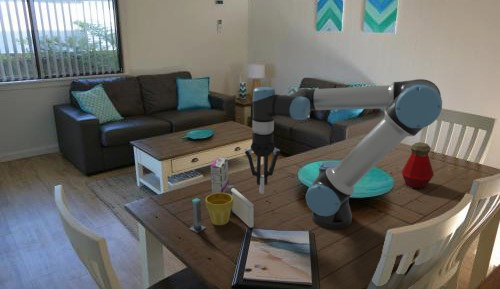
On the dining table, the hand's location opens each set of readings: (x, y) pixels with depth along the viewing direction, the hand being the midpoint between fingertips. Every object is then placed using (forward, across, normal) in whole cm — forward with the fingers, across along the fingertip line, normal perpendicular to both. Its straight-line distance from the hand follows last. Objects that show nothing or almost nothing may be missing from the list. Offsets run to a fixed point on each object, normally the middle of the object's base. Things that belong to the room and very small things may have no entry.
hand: (261, 192), depth 143 cm
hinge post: (+13, +11, -10) cm, 20 cm away
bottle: (+12, -75, -31) cm, 82 cm away
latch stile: (+13, +24, +4) cm, 27 cm away
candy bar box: (+13, +16, -23) cm, 31 cm away
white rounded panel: (+12, +8, -3) cm, 15 cm away
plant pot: (+13, +16, -2) cm, 21 cm away
